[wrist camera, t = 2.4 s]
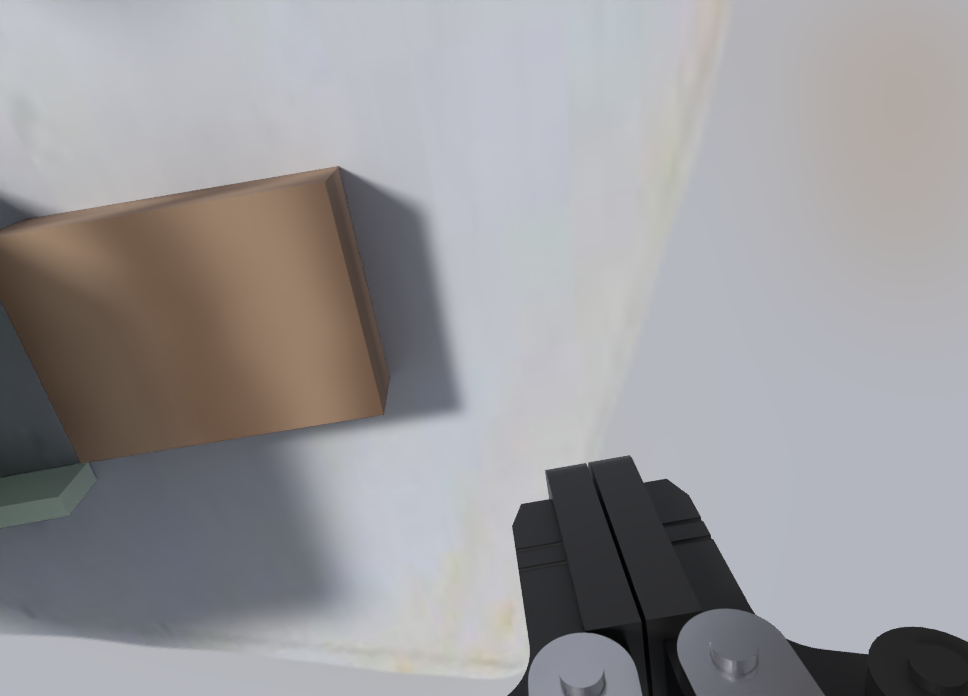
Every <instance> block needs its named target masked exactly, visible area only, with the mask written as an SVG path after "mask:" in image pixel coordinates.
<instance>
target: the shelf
mask: <svg viewBox="0 0 968 696" xmlns="http://www.w3.org/2000/svg"><path fill="white" fill-rule="evenodd" d="M96 482H97V478H96V476H95V474H94V472H93V470H92V468H91V466H90V465H89V463H82V464H81V463H79V464H74V465H68V466H63V467H57V468H51V469H46V470H40V471H35V472H29V473H24V474H18V475H12V476H7V477H1V478H0V528H4V527H10V526H16V525H21V524H27V523H32V522H38V521H44V520H49V519H55V518H61V517H66V516H69V515H70V514H71V513H72V511H73V510H74V509H75V508H76V506H77V505H78V504H79V503H80V502H81V500H82V499H83V498H84V497H85V495H86V494H87V493H88V492H89V490H90V489H91V488H92V487H93V485H94V484H95V483H96Z"/></svg>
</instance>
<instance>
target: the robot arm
mask: <svg viewBox="0 0 968 696" xmlns="http://www.w3.org/2000/svg"><path fill="white" fill-rule="evenodd" d="M545 473H546V480H547V487H548V493H549V499H548V500H543V501H537V502H531V503H525V504H521V506H520V509H519V511H518V513H517V516H516V518H515V521H514V523H513V525H512V528H513V535H514V541H515V548H516V555H517V562H518V569H519V576H520V583H521V589H522V596H523V603H524V610H525V617H526V624H527V631H528V638H529V644H530V658H529V663H528V667H527V670H526V672H525V674H524V676H523V678H522V680H521V681H520V683H519V684H518V685H517V687H516V688H515V689H514V690H513V691H512V692H511V693H510V694H509V695H508V696H968V642H967V641H964V640H962V639H960V638H958V637H955V636H953V635H950V634H948V633H945V632H941V631H938V630H934V629H928V628H923V627H902V628H896V629H893V630H890V631H887V632H885V633H883V634H882V635H880V636H879V637H877V638H876V640H875V641H874V642H873V643H872V645H871V647H870V649H869V654H859V653H850V652H841V651H832V650H823V649H817V648H811V647H808V646H804V645H800V644H798V643H795V642H792V641H790V640H788V639H786V638H785V637H784V636H783V635H782V633H781V632H780V631H779V630H778V629H777V628H776V627H775V626H773V625H772V624H771V623H769V622H768V621H766V620H765V619H762V618H761V617H759V616H757V615H755V613H754V612H753V610H752V609H751V607H750V605H749V604H748V602H747V600H746V598H745V596H744V594H743V593H742V591H741V589H740V587H739V585H738V584H737V582H736V580H735V578H734V576H733V574H732V573H731V571H730V569H729V567H728V565H727V564H726V562H725V560H724V558H723V556H722V555H721V553H720V551H719V549H718V547H717V545H716V544H715V542H714V540H713V539H711V535H710V533H709V531H708V529H707V527H706V526H705V524H704V522H703V521H701V517H700V515H699V513H698V511H697V509H696V507H695V506H694V504H693V502H692V500H691V498H690V497H689V495H688V494H686V493H685V492H684V491H682V490H681V489H680V488H678V487H677V486H676V485H674V484H673V483H672V482H670V481H669V480H668V479H663V480H657V481H651V482H645V483H643V481H642V479H641V477H640V475H639V472H638V470H637V468H636V466H635V464H634V462H633V459H632V458H631V457H630V456H623V457H617V458H612V459H606V460H600V461H594V462H589V463H588V467H587V464H586V463H584V464H578V465H572V466H567V467H561V468H555V469H550V470H545Z"/></svg>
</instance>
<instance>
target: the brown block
mask: <svg viewBox="0 0 968 696" xmlns="http://www.w3.org/2000/svg"><path fill="white" fill-rule="evenodd" d="M0 300H1V302H2V304H3V306H4V308H5V310H6V312H7V314H8V316H9V318H10V320H11V323H12V325H13V327H14V329H15V331H16V333H17V335H18V337H19V339H20V341H21V343H22V345H23V347H24V349H25V351H26V353H27V355H28V357H29V359H30V361H31V363H32V365H33V367H34V369H35V371H36V373H37V375H38V377H39V379H40V382H41V384H42V386H43V388H44V390H45V392H46V394H47V396H48V398H49V400H50V402H51V404H52V406H53V408H54V410H55V412H56V414H57V416H58V418H59V420H60V422H61V424H62V426H63V428H64V430H65V432H66V434H67V436H68V438H69V441H70V443H71V445H72V447H73V449H74V451H75V453H76V455H77V457H78V459H79V461H80V463H81V464H82V463H88V462H94V461H100V460H106V459H113V458H119V457H125V456H131V455H137V454H143V453H150V452H156V451H162V450H168V449H174V448H180V447H187V446H193V445H199V444H205V443H211V442H217V441H224V440H230V439H236V438H242V437H248V436H254V435H261V434H267V433H273V432H279V431H285V430H291V429H298V428H304V427H310V426H316V425H322V424H328V423H335V422H341V421H347V420H353V419H359V418H365V417H372V416H378V415H384V410H385V404H386V398H387V392H388V386H389V381H390V376H389V372H388V368H387V364H386V360H385V356H384V352H383V347H382V343H381V339H380V335H379V331H378V327H377V323H376V319H375V314H374V310H373V306H372V302H371V298H370V294H369V290H368V285H367V281H366V277H365V273H364V269H363V265H362V261H361V257H360V252H359V248H358V244H357V240H356V236H355V232H354V228H353V224H352V219H351V215H350V211H349V207H348V203H347V199H346V195H345V190H344V186H343V182H342V178H341V174H340V170H339V166H337V167H331V168H325V169H319V170H313V171H307V172H302V173H296V174H290V175H284V176H278V177H272V178H266V179H260V180H254V181H248V182H243V183H237V184H231V185H225V186H219V187H213V188H207V189H201V190H195V191H189V192H184V193H178V194H172V195H166V196H160V197H154V198H148V199H142V200H136V201H130V202H124V203H119V204H113V205H107V206H101V207H95V208H89V209H83V210H77V211H71V212H65V213H60V214H54V215H48V216H42V217H36V218H30V219H25V220H22V221H20V222H17V223H15V224H12V225H10V226H8V227H5V228H3V229H0Z"/></svg>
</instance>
